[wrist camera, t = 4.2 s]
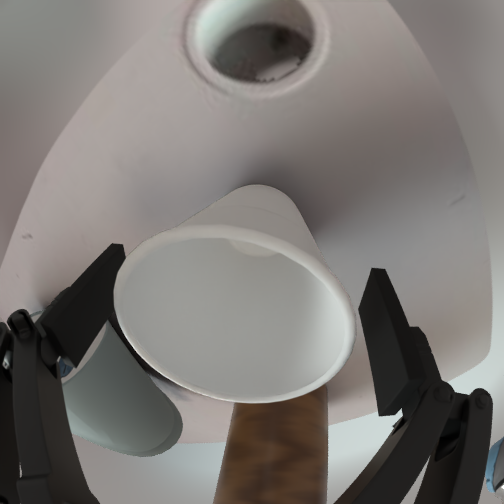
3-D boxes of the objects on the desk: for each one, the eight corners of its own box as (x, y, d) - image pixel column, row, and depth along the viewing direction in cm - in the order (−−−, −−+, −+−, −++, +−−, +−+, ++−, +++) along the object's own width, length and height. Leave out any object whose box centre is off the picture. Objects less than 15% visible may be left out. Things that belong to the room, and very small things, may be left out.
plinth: (337, 372, 27) (337, 548, 10) (316, 414, 33) (308, 544, 16) (237, 363, 28) (197, 540, 11) (238, 407, 34) (210, 537, 17)
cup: (224, 292, 23) (186, 406, 14) (170, 185, 19) (72, 269, 10) (341, 263, 20) (366, 388, 11) (303, 135, 16) (323, 180, 7)
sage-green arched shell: (127, 303, 26) (65, 404, 15) (194, 401, 35) (171, 478, 24) (30, 306, 31) (-15, 363, 20) (92, 385, 40) (64, 438, 29)
